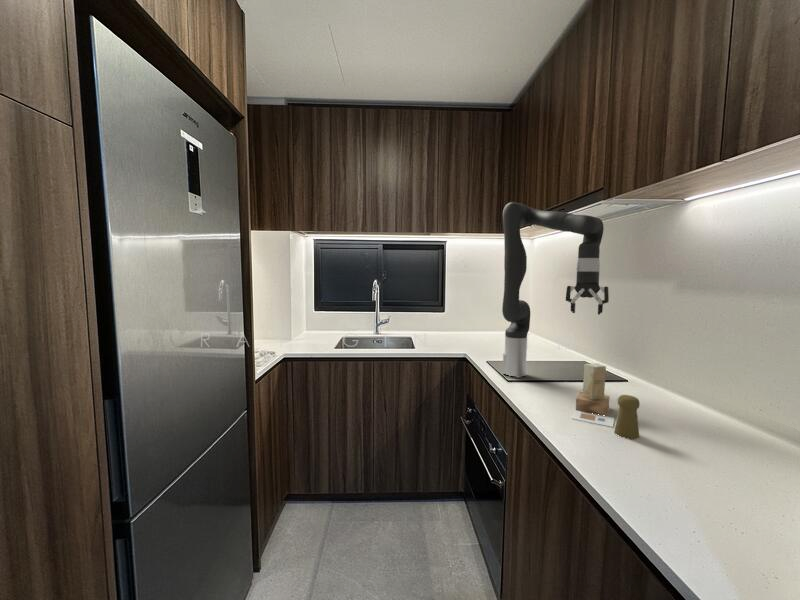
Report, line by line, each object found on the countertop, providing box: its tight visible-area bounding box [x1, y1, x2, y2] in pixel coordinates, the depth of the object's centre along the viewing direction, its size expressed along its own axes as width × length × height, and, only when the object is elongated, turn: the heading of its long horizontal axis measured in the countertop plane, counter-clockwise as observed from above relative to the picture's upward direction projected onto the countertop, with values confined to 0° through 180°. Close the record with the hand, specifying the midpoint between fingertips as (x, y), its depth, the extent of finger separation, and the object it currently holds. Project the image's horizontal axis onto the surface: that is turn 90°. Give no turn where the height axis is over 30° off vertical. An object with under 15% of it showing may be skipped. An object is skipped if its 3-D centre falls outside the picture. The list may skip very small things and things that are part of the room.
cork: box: [613, 394, 641, 440], centre depth 101 cm, size 6×6×11 cm
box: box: [582, 362, 607, 400], centre depth 119 cm, size 5×4×11 cm
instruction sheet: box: [571, 409, 615, 428], centre depth 112 cm, size 11×8×1 cm
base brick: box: [575, 390, 610, 416], centre depth 120 cm, size 9×9×4 cm
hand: (586, 313), depth 135 cm, fingers open, 8 cm apart
